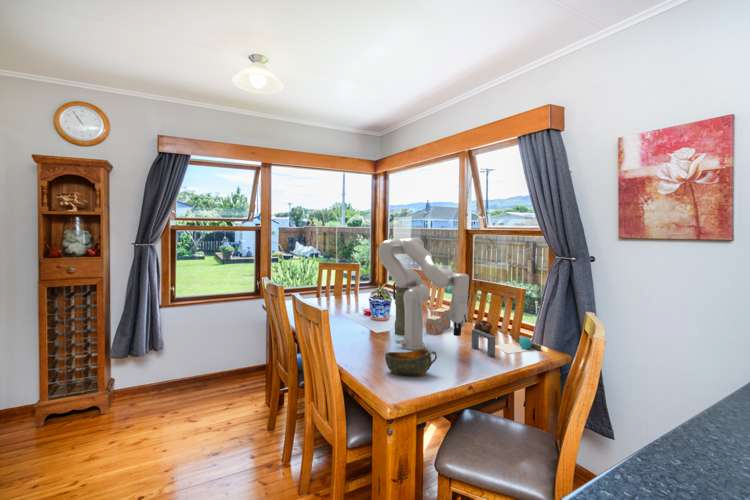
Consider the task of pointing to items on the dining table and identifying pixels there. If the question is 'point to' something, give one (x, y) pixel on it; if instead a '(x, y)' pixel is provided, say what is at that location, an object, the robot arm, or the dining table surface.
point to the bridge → (490, 342)
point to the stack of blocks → (438, 321)
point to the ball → (525, 343)
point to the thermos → (399, 309)
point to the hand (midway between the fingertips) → (457, 335)
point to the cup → (409, 362)
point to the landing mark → (510, 348)
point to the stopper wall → (533, 345)
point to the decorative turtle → (483, 326)
